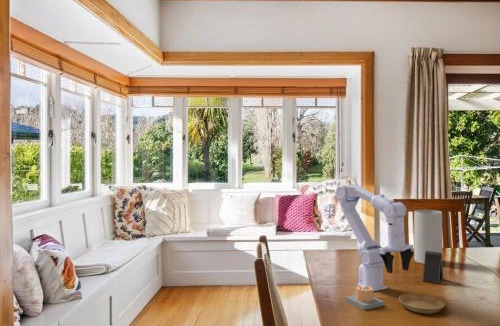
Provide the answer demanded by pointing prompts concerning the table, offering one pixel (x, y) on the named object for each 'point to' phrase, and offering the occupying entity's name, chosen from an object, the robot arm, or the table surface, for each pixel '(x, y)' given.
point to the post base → (364, 305)
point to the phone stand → (433, 267)
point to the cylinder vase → (427, 233)
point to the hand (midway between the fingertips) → (397, 271)
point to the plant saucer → (421, 303)
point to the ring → (364, 294)
